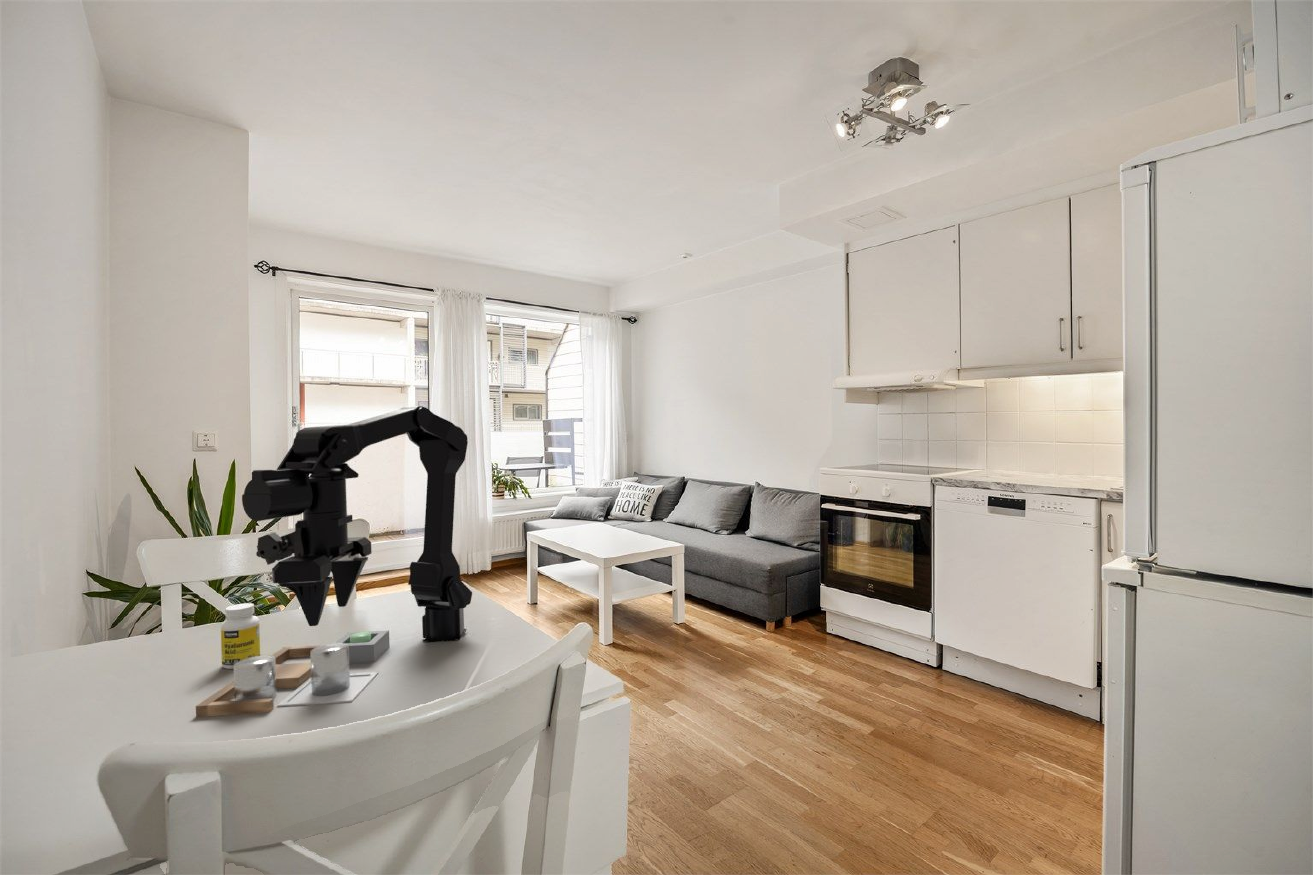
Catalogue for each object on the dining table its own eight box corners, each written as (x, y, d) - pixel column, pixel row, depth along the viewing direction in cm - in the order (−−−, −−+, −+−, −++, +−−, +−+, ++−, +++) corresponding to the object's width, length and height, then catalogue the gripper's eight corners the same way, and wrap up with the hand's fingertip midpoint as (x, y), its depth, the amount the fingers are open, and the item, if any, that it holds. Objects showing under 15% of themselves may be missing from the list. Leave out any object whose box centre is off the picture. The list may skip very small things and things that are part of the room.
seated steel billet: (283, 694, 88) (282, 654, 88) (264, 710, 83) (263, 667, 83) (248, 696, 88) (246, 656, 88) (226, 712, 83) (225, 669, 83)
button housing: (389, 650, 106) (389, 630, 106) (374, 665, 99) (373, 644, 99) (348, 652, 105) (348, 632, 105) (330, 668, 98) (329, 646, 98)
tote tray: (378, 676, 94) (378, 671, 94) (351, 706, 84) (351, 700, 84) (312, 680, 93) (312, 675, 93) (277, 710, 83) (277, 705, 83)
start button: (374, 648, 104) (373, 631, 104) (366, 655, 100) (366, 637, 100) (355, 649, 103) (354, 632, 103) (347, 656, 100) (346, 639, 100)
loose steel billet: (355, 680, 91) (354, 641, 91) (341, 695, 86) (339, 654, 86) (321, 682, 91) (320, 643, 91) (305, 697, 86) (303, 656, 86)
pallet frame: (340, 655, 103) (340, 644, 103) (269, 716, 82) (269, 701, 82) (283, 658, 103) (282, 647, 103) (196, 720, 81) (195, 706, 81)
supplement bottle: (219, 672, 97) (216, 613, 97) (225, 661, 102) (223, 604, 102) (258, 665, 100) (256, 607, 100) (262, 655, 105) (260, 600, 105)
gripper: (300, 505, 97) (303, 600, 97) (228, 522, 78) (232, 640, 78) (371, 502, 98) (374, 597, 98) (316, 519, 79) (320, 636, 79)
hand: (328, 615), depth 88 cm, fingers open, 9 cm apart
